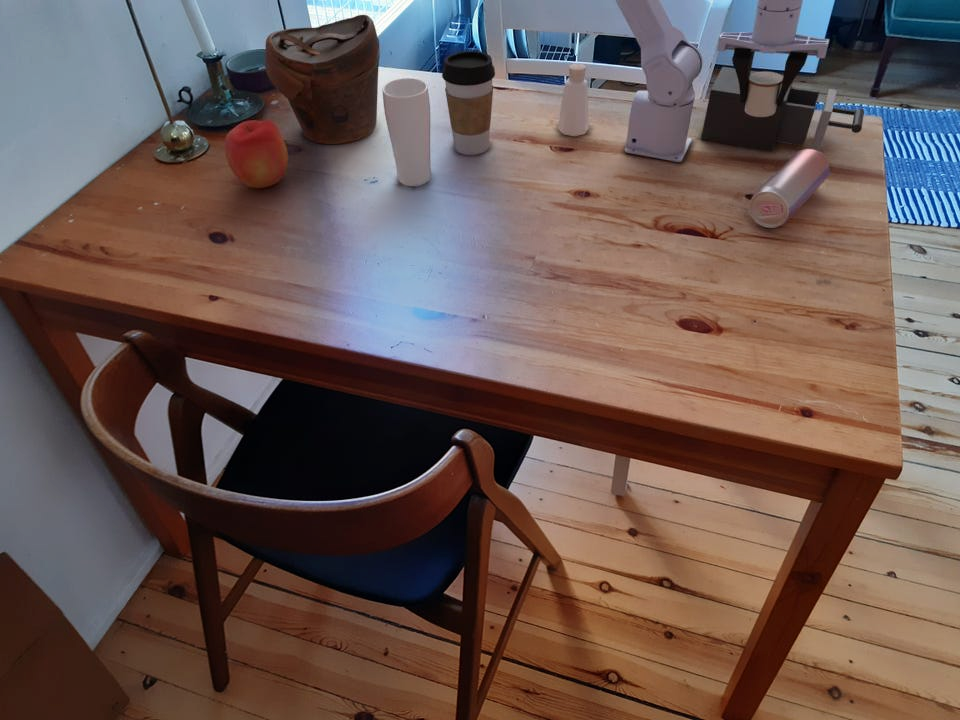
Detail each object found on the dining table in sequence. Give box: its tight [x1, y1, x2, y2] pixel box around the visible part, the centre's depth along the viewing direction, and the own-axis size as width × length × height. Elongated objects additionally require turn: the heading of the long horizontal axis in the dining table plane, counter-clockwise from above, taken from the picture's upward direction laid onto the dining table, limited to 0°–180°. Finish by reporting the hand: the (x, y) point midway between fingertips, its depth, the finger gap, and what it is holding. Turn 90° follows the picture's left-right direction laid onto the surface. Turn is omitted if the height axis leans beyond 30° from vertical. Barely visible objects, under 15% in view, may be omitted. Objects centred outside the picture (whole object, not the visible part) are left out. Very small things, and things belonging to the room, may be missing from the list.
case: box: [264, 14, 381, 145], centre depth 120 cm, size 18×20×18 cm
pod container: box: [745, 71, 783, 117], centre depth 105 cm, size 5×5×5 cm
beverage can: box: [748, 148, 831, 229], centre depth 103 cm, size 6×6×15 cm
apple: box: [224, 119, 289, 189], centre depth 111 cm, size 10×10×10 cm
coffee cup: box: [441, 50, 496, 156], centre depth 115 cm, size 8×8×15 cm
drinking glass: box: [381, 77, 432, 187], centre depth 108 cm, size 7×7×15 cm
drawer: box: [775, 86, 865, 152], centre depth 115 cm, size 15×8×7 cm, turn 66°
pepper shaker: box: [557, 62, 590, 137], centre depth 120 cm, size 5×5×11 cm
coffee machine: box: [700, 66, 794, 152], centre depth 118 cm, size 12×10×9 cm
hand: (761, 101), depth 106 cm, fingers closed on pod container, 4 cm apart
